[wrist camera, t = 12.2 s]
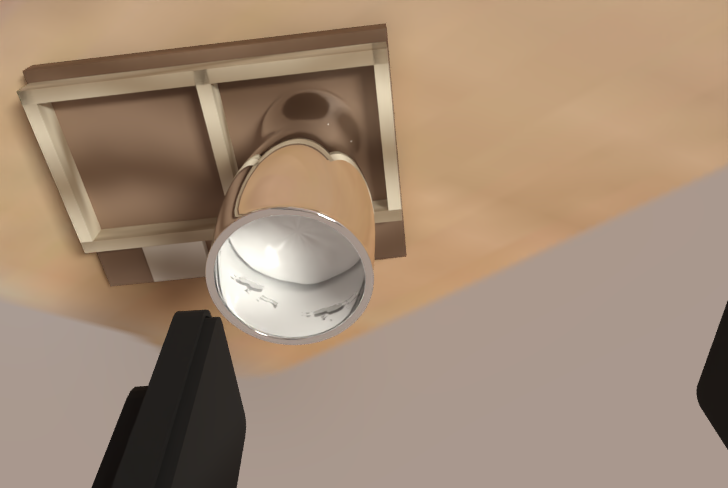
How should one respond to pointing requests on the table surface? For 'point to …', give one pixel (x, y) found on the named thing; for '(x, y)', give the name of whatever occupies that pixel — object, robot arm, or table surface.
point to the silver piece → (296, 226)
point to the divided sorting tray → (197, 139)
